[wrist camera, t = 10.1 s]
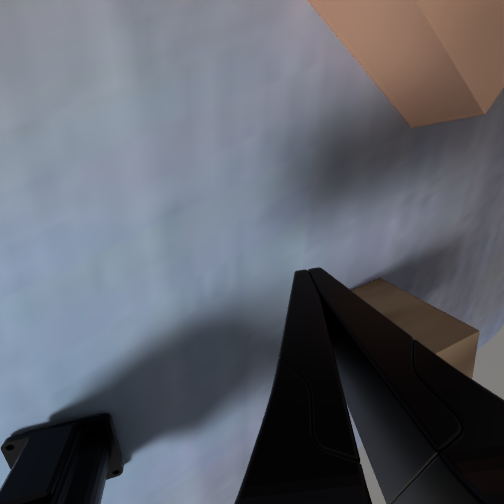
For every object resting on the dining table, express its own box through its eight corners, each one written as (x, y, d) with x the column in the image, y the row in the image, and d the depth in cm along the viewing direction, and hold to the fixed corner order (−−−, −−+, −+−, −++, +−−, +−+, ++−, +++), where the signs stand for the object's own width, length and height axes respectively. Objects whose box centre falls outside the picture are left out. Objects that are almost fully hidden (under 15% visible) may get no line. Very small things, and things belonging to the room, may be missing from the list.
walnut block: (381, 320, 24) (470, 385, 17) (338, 340, 23) (413, 417, 16) (379, 277, 22) (479, 330, 15) (332, 297, 21) (414, 364, 14)
